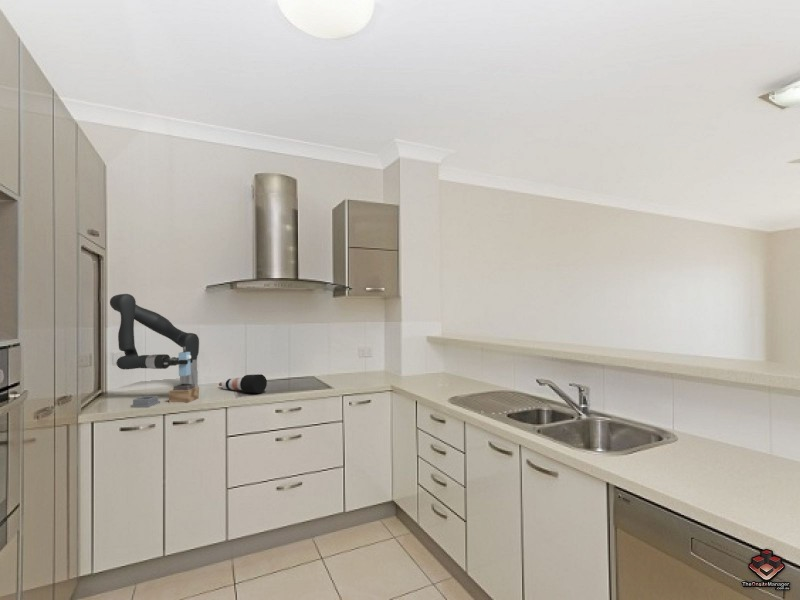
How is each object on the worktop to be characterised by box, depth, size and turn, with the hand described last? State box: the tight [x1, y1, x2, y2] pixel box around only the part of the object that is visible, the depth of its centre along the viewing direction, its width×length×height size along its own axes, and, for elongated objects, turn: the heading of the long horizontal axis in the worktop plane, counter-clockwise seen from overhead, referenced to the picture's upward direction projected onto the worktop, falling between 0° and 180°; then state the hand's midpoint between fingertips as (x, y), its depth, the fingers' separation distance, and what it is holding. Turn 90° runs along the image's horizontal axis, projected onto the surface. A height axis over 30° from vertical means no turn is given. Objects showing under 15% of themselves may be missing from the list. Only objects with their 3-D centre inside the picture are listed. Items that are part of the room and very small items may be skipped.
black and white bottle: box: [218, 373, 268, 394], centre depth 234 cm, size 10×34×10 cm, turn 61°
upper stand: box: [168, 383, 200, 404], centre depth 212 cm, size 10×10×8 cm
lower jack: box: [130, 395, 161, 408], centre depth 202 cm, size 9×9×4 cm
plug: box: [178, 347, 191, 377], centre depth 212 cm, size 4×5×15 cm
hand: (189, 361), depth 212 cm, fingers closed on plug, 4 cm apart
